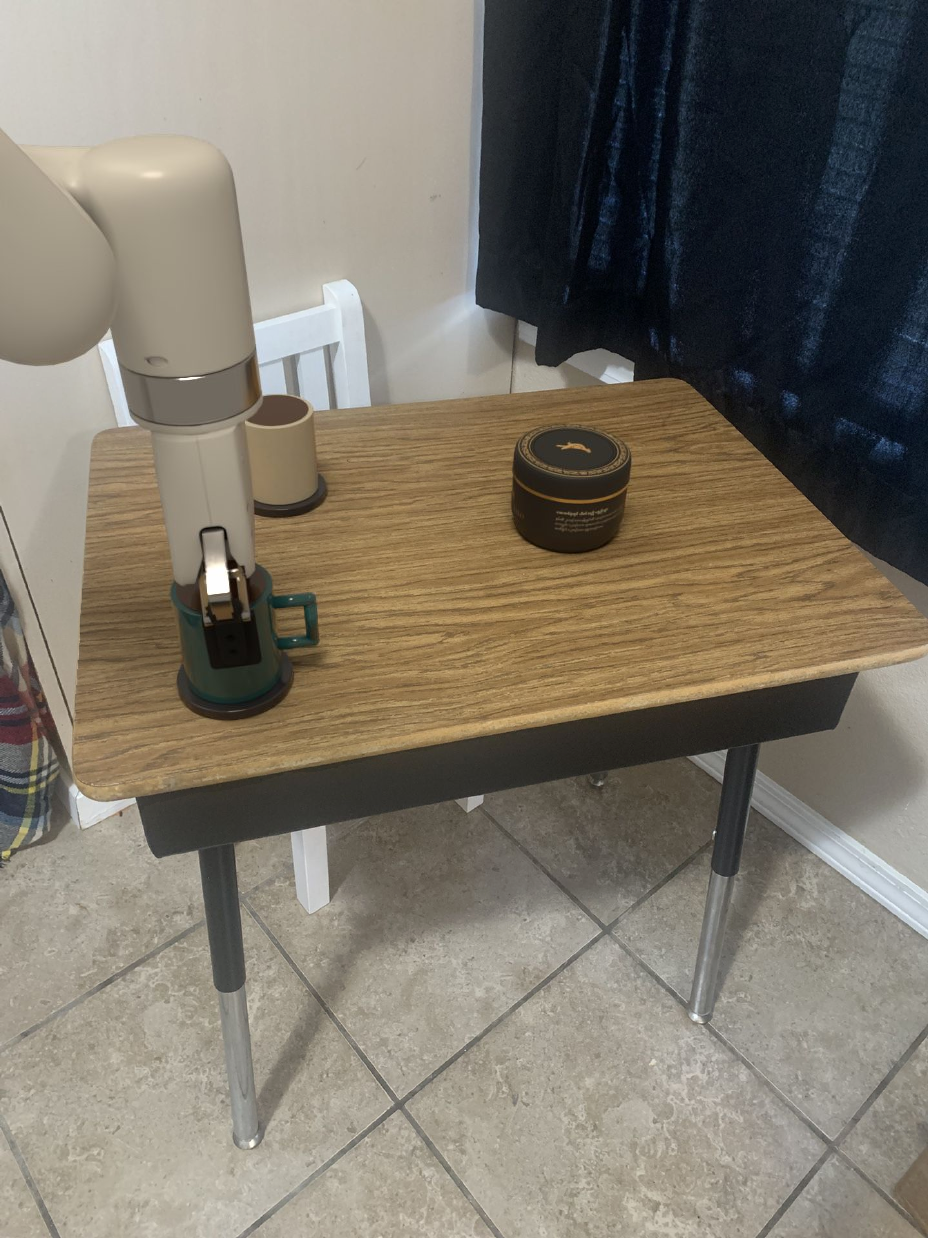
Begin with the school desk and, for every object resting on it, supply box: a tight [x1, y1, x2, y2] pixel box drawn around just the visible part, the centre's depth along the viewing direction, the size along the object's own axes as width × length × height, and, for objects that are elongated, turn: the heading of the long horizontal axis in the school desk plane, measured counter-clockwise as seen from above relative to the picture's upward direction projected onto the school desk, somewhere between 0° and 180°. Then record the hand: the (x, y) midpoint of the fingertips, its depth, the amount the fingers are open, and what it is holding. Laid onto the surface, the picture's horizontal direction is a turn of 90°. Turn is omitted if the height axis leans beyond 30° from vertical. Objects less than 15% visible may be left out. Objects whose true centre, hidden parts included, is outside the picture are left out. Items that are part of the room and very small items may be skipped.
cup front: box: [169, 559, 320, 704], centre depth 67 cm, size 9×7×8 cm
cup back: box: [245, 393, 319, 505], centre depth 87 cm, size 9×7×8 cm
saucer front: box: [175, 650, 294, 721], centre depth 69 cm, size 8×8×1 cm
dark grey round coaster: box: [253, 472, 328, 518], centre depth 89 cm, size 8×8×1 cm
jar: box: [510, 423, 632, 553], centre depth 84 cm, size 10×10×8 cm
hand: (234, 617), depth 66 cm, fingers open, 9 cm apart
